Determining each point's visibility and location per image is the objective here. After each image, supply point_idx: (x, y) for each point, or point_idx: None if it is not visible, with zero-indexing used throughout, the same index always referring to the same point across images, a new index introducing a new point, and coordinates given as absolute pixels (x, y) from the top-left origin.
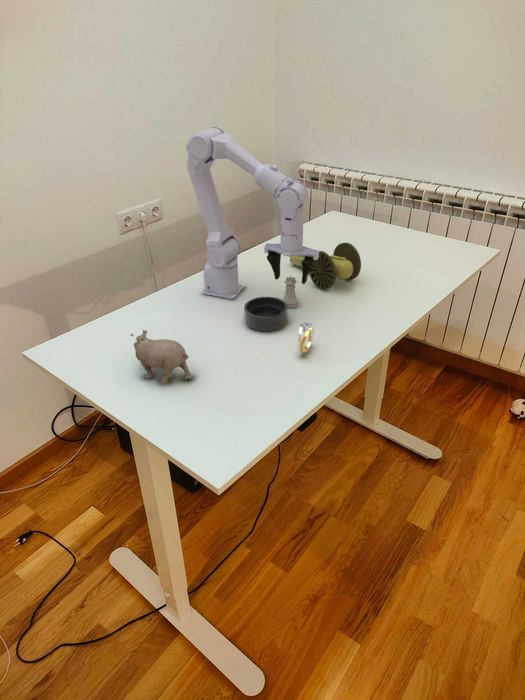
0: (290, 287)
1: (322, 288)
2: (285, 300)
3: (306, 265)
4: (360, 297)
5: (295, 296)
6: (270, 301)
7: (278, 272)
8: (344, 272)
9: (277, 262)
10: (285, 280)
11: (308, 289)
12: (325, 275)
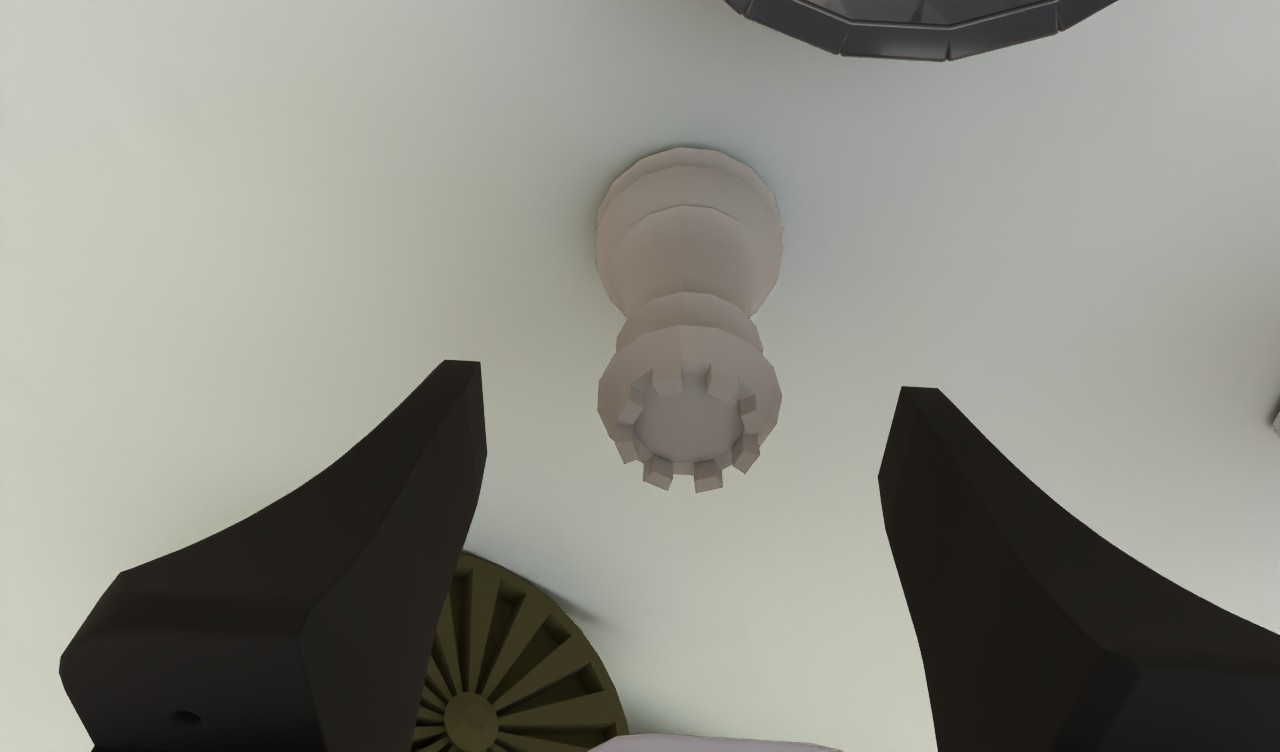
0: (672, 316)
1: (468, 563)
2: (731, 200)
3: (208, 572)
4: (110, 514)
5: (619, 284)
6: (923, 10)
7: (913, 501)
8: None
9: (984, 645)
10: (769, 403)
11: (595, 535)
12: None
